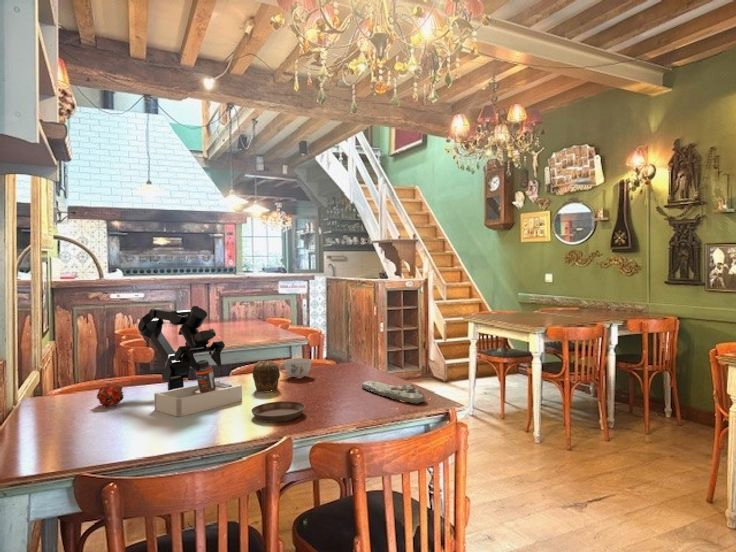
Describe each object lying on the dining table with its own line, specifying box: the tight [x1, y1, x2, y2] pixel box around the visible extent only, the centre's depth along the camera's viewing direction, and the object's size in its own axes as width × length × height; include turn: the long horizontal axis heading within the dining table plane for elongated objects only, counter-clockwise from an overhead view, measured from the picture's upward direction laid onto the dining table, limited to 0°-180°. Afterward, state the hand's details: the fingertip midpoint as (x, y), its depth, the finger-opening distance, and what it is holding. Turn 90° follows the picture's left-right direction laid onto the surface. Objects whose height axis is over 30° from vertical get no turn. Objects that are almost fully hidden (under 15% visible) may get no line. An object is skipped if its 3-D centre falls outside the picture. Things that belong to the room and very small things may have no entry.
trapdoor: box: [194, 382, 233, 394], centre depth 187 cm, size 12×9×3 cm
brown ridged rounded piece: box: [252, 360, 281, 392], centre depth 204 cm, size 11×11×12 cm
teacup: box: [278, 357, 313, 378], centre depth 228 cm, size 15×12×8 cm
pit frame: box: [153, 379, 243, 418], centre depth 182 cm, size 15×26×6 cm, turn 142°
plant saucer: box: [250, 400, 306, 423], centre depth 167 cm, size 18×18×3 cm
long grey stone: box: [361, 380, 426, 404], centre depth 193 cm, size 35×5×10 cm
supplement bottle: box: [195, 359, 216, 393], centre depth 184 cm, size 6×6×11 cm
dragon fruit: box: [96, 382, 125, 408], centre depth 183 cm, size 8×8×12 cm
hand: (209, 368), depth 184 cm, fingers open, 9 cm apart
